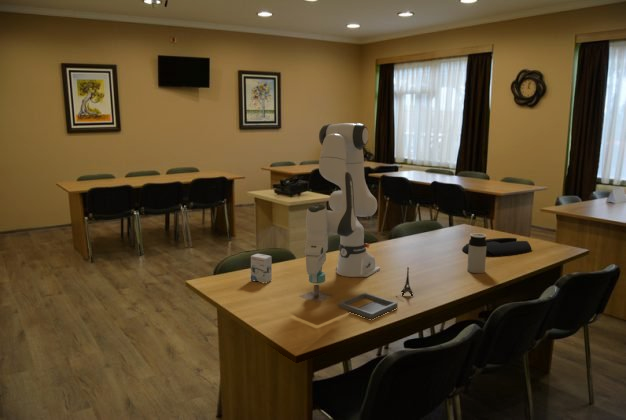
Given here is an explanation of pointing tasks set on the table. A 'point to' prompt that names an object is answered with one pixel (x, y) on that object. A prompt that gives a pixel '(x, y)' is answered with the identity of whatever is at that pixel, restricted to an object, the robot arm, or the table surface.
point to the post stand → (316, 295)
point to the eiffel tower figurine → (406, 289)
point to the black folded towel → (503, 247)
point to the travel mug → (477, 253)
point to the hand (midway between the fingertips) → (317, 278)
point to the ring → (318, 277)
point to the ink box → (261, 268)
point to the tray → (369, 306)
